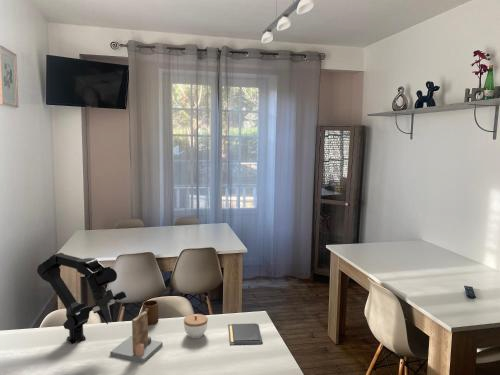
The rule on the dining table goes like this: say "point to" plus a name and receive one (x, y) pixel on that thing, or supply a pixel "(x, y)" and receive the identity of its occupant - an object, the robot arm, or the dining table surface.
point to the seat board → (129, 350)
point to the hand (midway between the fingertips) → (110, 322)
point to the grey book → (244, 334)
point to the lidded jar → (195, 325)
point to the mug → (151, 311)
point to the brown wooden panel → (140, 330)
